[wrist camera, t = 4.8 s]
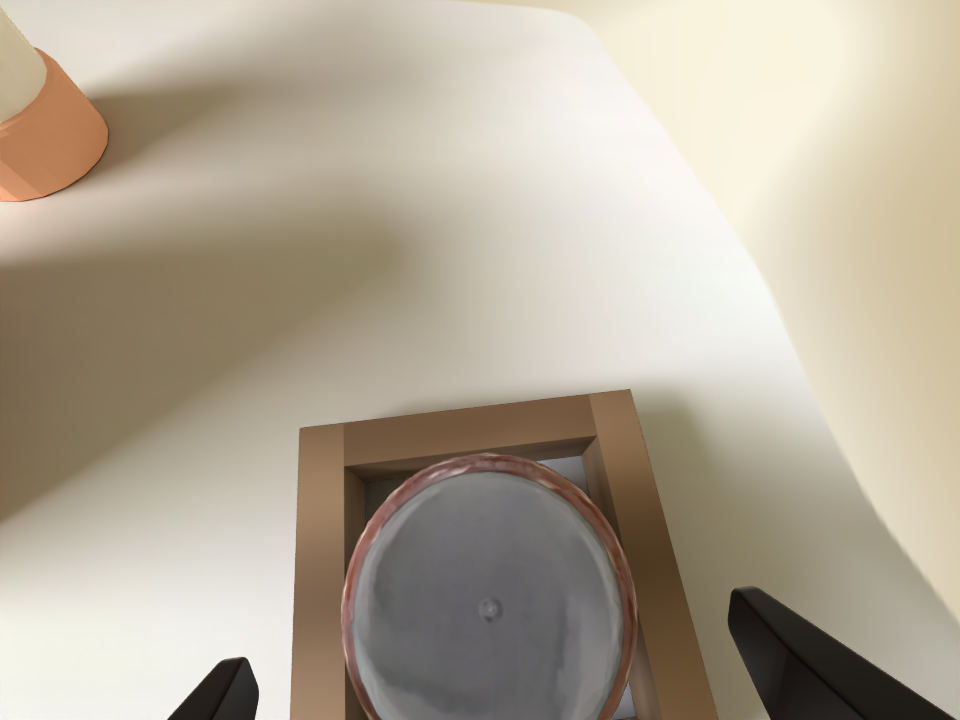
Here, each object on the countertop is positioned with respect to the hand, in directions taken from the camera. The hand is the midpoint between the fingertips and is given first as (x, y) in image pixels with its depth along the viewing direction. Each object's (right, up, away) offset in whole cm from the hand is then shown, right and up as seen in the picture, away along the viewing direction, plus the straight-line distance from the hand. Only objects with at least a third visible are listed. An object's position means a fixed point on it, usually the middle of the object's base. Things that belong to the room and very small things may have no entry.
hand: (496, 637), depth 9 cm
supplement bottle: (0, -3, +9) cm, 9 cm away
